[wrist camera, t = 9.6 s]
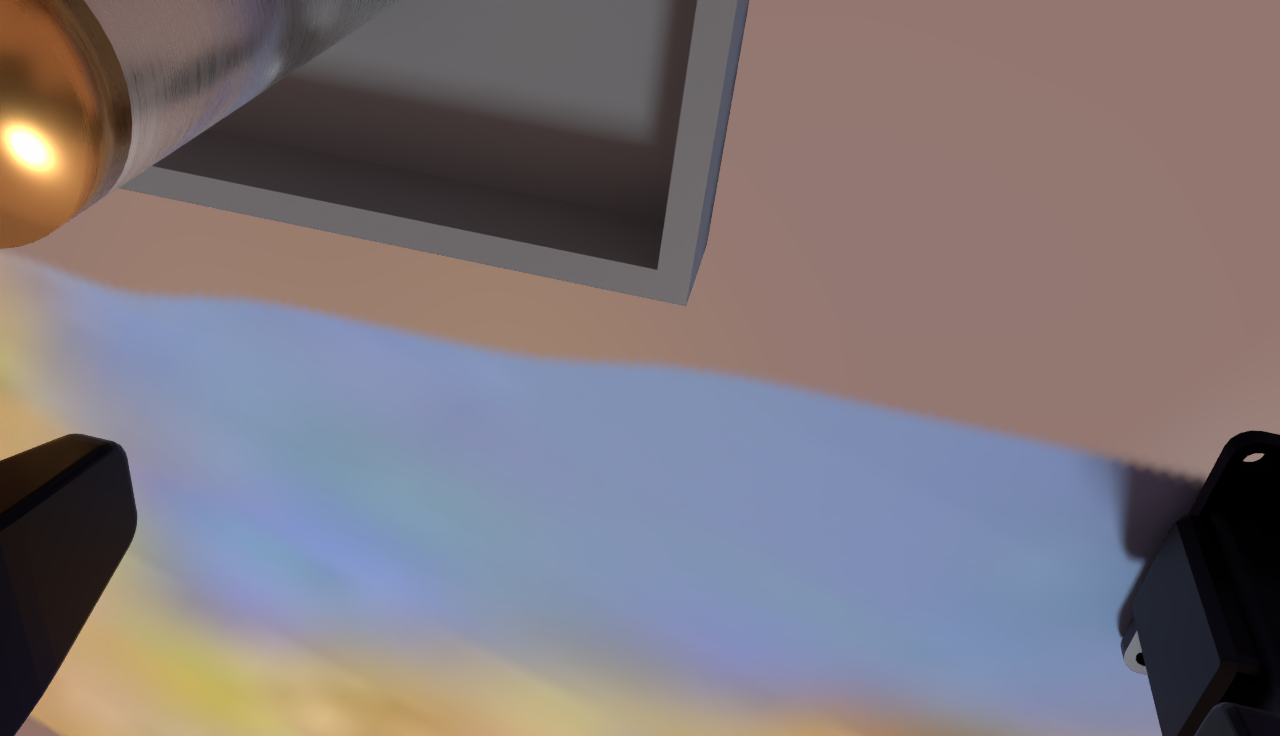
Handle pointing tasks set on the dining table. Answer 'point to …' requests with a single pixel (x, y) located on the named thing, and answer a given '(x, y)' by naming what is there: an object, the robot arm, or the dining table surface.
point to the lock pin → (134, 87)
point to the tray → (494, 138)
